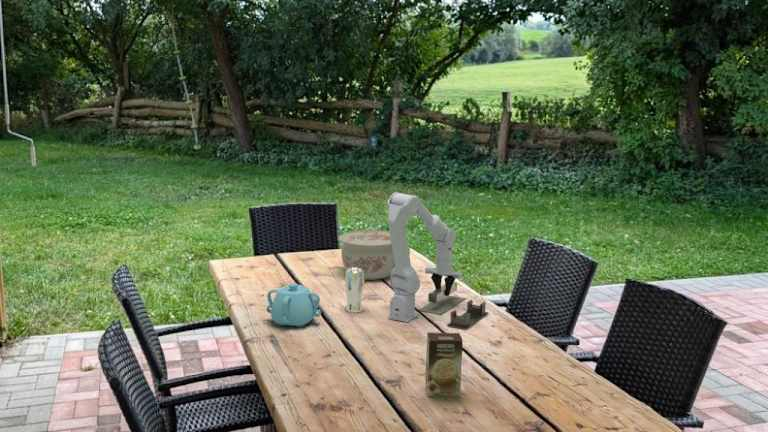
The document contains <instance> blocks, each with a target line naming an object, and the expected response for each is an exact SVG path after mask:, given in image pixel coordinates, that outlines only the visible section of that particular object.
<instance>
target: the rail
mask: <svg viewBox="0 0 768 432" xmlns="http://www.w3.org/2000/svg"><path fill="white" fill-rule="evenodd" d="M445 289H446V287H445V284H443V285H441V287H439V288H438V289H436V288H435V289H434V290H432V291H430V292H429V293H428V294H427V295H428V298H427V301H428V303H431V302H432V303H437V302H438V301H440V300H442V299H443V298H445V297H447V296H446V295H445ZM457 291H458V283H457V282H455V281H454V282H453V285H452V287H451V290H450V294H449V295H450V296H451V294H453V293H455V292H457Z"/></svg>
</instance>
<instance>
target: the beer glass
mask: <svg viewBox="0 0 768 432" xmlns="http://www.w3.org/2000/svg"><path fill="white" fill-rule="evenodd" d="M344 275H345V276H344V288H345V294H346V298H347V299H346V306H345V307H346V308H345V310H346V311H347V312H348V313H360V312H362V311H363V310H364V307H363V302H362V301H363V294H364V287H365V280H364V270H363V269H361V268H348V269H346V268H345V271H344Z"/></svg>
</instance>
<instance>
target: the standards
mask: <svg viewBox="0 0 768 432" xmlns="http://www.w3.org/2000/svg"><path fill="white" fill-rule="evenodd" d="M486 305H487V302H485V301H483V302H481V303H480V305H477V304H473V299H470V300H468V301H466V311H465V312H464V313H462V314H461V315H457V314H458V313H457V310H452V311H451V312H450V322H449V323H448V324H447V325H446V327H447V326H448V327H447V328H452V329H458V330H463V331H467V330H468V329H470V328H471V327H472V326H474V325H475V324H476V323H478V322H479V321H481V320H482V319H484V318H485V317H486V316H488V315H489V312H488V311H486Z"/></svg>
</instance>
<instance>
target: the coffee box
mask: <svg viewBox="0 0 768 432" xmlns="http://www.w3.org/2000/svg"><path fill="white" fill-rule="evenodd" d="M426 334H427V336H426V355H425V356H426V358H425V378H424V379H425V380H424V381H425V382H424V385H425V387H424V388H425V392H426V393H425V394H426V397H430V398H431V397H432V398H433V397H437V398H441V397H442V398H444V397H445V398H447V397H449V398H451V397H452V398H456V397H458V398H460V397H461V384H462V361H463V359H462V358H463V343H464V342H463V338H462V335H461V334H460V332H427V333H426Z"/></svg>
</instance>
